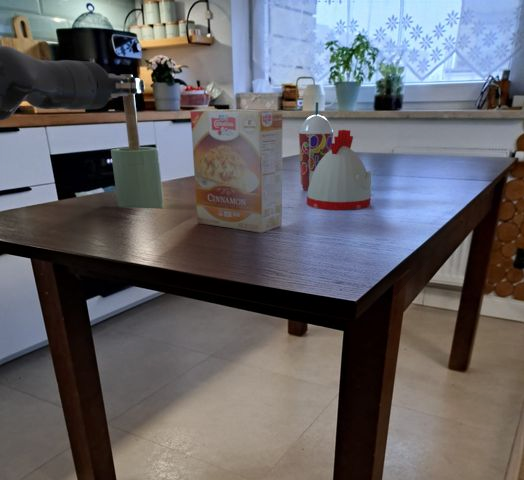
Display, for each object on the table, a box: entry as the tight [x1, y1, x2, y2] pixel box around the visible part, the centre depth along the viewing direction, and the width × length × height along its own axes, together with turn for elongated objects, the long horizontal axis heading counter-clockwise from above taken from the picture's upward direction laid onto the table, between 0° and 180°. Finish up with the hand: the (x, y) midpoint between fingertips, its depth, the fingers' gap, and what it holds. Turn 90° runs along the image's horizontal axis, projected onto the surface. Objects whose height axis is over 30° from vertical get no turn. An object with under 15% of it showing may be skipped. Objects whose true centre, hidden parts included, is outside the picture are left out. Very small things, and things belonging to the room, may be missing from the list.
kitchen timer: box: [306, 129, 372, 211], centre depth 111 cm, size 14×14×15 cm
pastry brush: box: [120, 73, 141, 151], centre depth 104 cm, size 4×4×20 cm
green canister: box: [110, 146, 164, 210], centre depth 109 cm, size 9×9×12 cm
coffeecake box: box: [189, 109, 283, 234], centre depth 92 cm, size 15×7×20 cm, turn 56°
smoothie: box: [298, 102, 334, 192], centre depth 127 cm, size 8×8×20 cm
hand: (136, 86), depth 103 cm, fingers closed on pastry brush, 2 cm apart
